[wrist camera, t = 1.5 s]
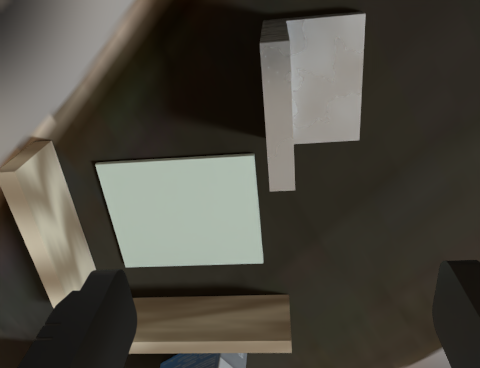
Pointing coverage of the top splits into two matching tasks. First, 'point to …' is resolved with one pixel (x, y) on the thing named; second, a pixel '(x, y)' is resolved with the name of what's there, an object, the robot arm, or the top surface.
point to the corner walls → (148, 309)
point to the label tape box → (206, 360)
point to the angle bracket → (310, 85)
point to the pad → (184, 210)
